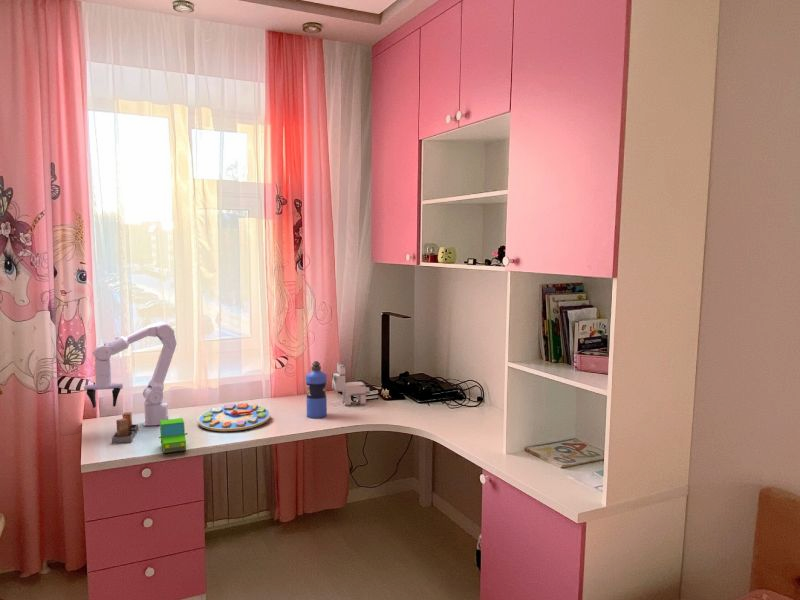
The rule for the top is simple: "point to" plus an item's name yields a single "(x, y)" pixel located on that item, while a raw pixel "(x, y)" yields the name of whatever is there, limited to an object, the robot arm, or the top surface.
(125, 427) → the wooden block with lid
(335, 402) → the top surface
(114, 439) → the grey compartment box
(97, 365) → the robot arm
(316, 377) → the water bottle
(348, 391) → the toy llama
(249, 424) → the shape sorting clock
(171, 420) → the toy car
